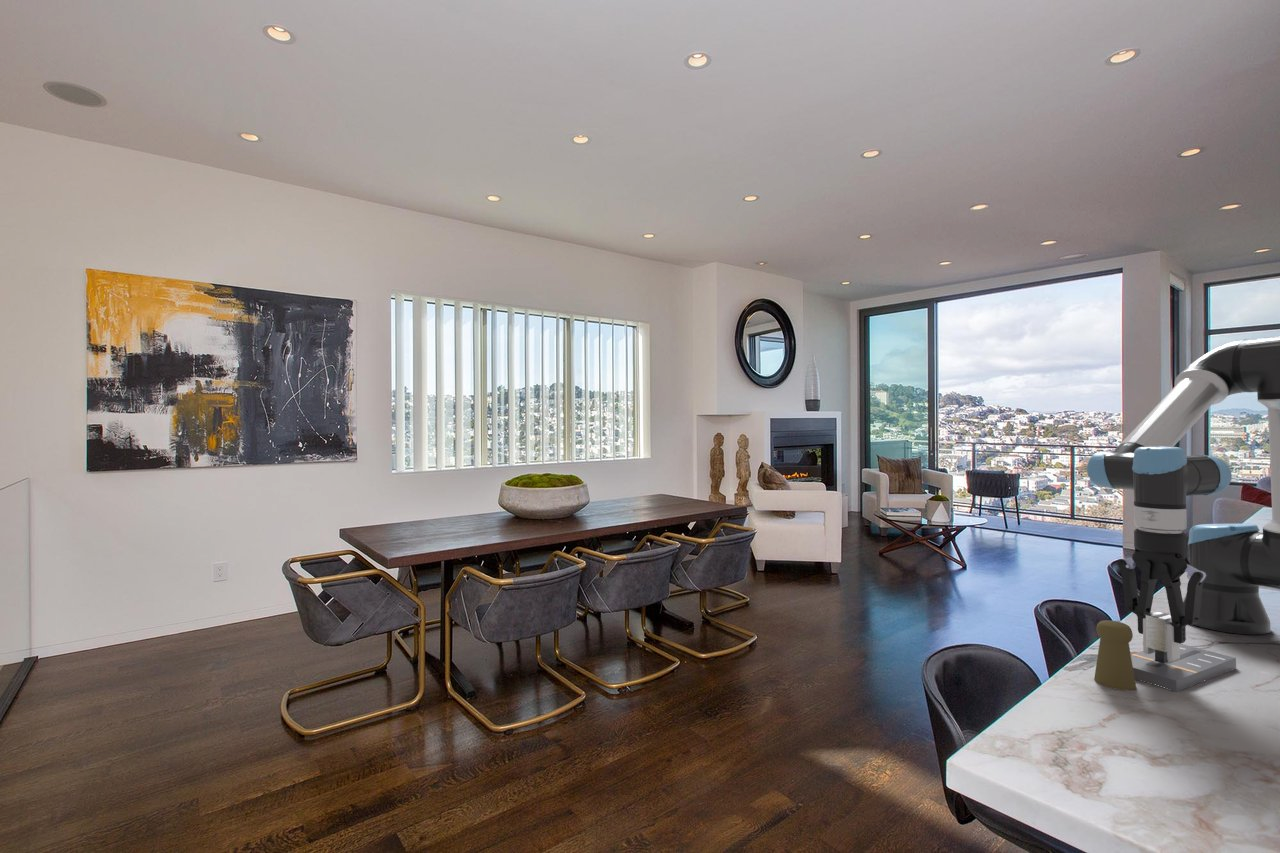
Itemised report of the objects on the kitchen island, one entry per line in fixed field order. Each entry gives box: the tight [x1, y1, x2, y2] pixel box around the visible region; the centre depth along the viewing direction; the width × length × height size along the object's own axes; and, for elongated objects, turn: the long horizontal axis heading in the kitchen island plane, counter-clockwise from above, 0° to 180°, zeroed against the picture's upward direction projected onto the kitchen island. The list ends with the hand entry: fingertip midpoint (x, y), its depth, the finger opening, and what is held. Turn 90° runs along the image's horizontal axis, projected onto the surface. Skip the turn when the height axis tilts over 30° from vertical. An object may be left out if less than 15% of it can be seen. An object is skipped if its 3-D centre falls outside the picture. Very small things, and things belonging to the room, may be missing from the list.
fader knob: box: [1146, 611, 1172, 664], centre depth 114 cm, size 4×3×9 cm
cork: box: [1093, 619, 1137, 691], centre depth 111 cm, size 6×6×11 cm
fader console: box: [1130, 643, 1237, 693], centre depth 116 cm, size 22×10×2 cm, turn 116°
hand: (1161, 655), depth 114 cm, fingers closed on fader knob, 3 cm apart
